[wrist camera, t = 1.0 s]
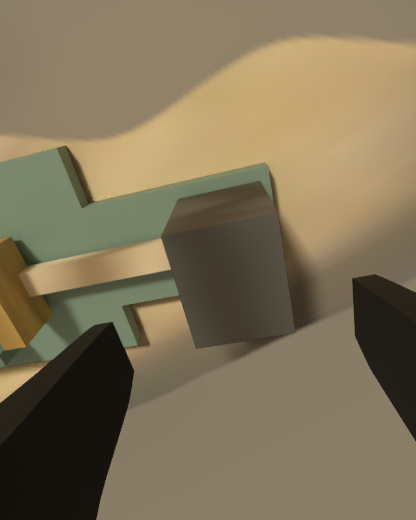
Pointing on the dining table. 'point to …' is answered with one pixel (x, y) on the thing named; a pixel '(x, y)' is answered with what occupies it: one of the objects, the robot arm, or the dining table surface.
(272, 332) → the block ended dumbbell
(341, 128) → the dining table surface
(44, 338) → the green long flat piece
